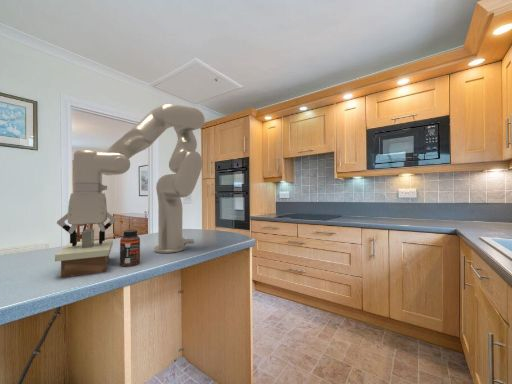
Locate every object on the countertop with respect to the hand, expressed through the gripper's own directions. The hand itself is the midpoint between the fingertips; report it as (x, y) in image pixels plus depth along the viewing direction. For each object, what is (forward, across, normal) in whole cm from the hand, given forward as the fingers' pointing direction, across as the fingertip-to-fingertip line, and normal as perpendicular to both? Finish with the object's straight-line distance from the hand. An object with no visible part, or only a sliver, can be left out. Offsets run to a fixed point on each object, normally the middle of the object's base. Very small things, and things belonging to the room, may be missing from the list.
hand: (88, 243), depth 76 cm
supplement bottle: (+8, -12, +3) cm, 15 cm away
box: (+7, 0, 0) cm, 7 cm away
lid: (+2, 0, 0) cm, 2 cm away
